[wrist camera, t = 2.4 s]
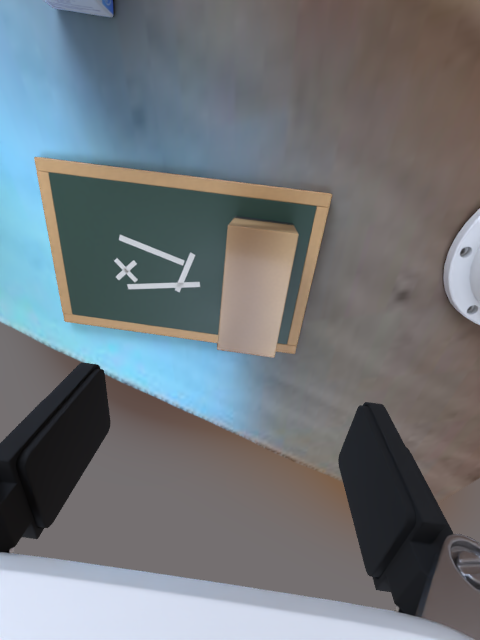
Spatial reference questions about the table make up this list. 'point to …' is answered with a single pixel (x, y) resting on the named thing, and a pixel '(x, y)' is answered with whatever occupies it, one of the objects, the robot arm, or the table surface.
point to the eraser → (255, 284)
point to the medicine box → (84, 6)
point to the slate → (164, 246)
